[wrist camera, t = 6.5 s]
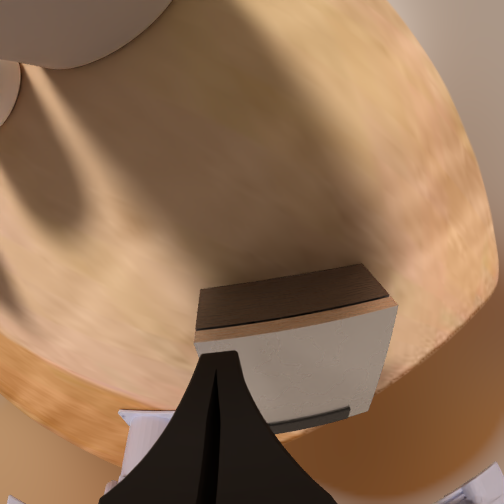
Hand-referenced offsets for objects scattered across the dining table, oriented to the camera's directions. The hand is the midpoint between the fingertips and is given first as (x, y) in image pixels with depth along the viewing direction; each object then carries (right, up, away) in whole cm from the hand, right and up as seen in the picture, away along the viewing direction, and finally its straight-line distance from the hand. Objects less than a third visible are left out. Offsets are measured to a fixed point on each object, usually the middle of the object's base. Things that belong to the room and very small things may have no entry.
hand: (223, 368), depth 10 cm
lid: (+4, -5, +8) cm, 10 cm away
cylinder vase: (-9, +22, 0) cm, 24 cm away
